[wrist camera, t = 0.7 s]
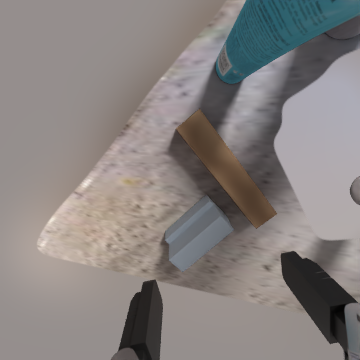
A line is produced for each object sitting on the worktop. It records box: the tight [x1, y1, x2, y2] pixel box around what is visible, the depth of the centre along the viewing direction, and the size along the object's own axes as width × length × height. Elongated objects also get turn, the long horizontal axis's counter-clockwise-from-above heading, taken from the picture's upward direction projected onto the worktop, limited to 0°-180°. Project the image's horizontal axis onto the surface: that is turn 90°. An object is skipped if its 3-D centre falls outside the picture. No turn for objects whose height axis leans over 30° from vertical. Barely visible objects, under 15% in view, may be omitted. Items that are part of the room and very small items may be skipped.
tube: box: [216, 0, 360, 84], centre depth 18 cm, size 7×5×19 cm, turn 45°
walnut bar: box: [176, 109, 277, 229], centre depth 29 cm, size 4×20×4 cm, turn 39°
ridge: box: [165, 195, 234, 272], centre depth 30 cm, size 10×5×7 cm, turn 133°
